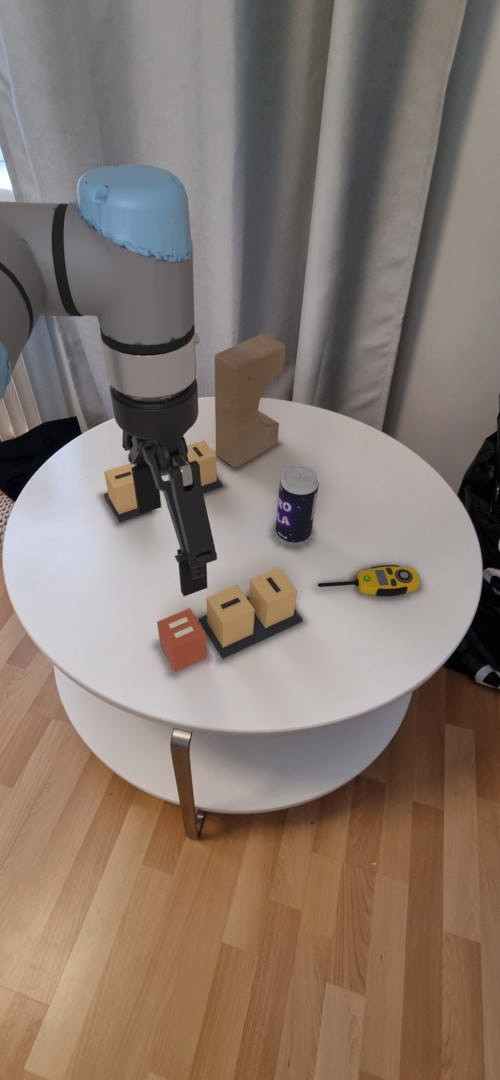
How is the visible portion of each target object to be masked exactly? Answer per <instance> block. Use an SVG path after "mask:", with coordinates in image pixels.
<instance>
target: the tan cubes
mask: <svg viewBox="0 0 500 1080" xmlns="http://www.w3.org/2000/svg"><path fill="white" fill-rule="evenodd" d="M187 447H188V454H187V457H188V460H189V462H191V461H194V460H196V461H197V462H198V464H199V465H200V475H201V486H202V491H203V495H204V494H207V493H209V492H212V491H215V490H218V489H221V488H223V486H224V485H223V483H222V482H221V481H220V479H219V478H218V476H217V475H218V473H217V472H218V470H217V463H218V462H217V455H216V452H214V451H213V450H212V448H211V447H210V446H209V444H208V443H207V442H206V441H205V440H202V441H198V442H195V443H192V444H187ZM132 467H134V464H133V465H131V463H130V462H129V463H127V464H124V465H121V466H118V467H115V468H111V469H108V470H105V471H103V473H104V478H105V479H104V480H105V483H106V484H105V485H106V489H107V492H106V493H105V492H104V493H103V497H104V499H105V500H106V503H107V505H108V506H109V507H110V509H111V511H112V513H113V514H114V516H115V518H116V520H117V522H118V523H123V522H126V521H128V520H131V519H134V518H137V517H140V516H143V515H146V514H149V513H152V512H153V510H151V511H148V512H145V513H142V514H140V513H139V511H138V508H137V502H136V495H135V489H134V482H133V476H132V469H131V468H132Z"/></svg>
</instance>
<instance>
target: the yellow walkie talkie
mask: <svg viewBox="0 0 500 1080" xmlns="http://www.w3.org/2000/svg"><path fill="white" fill-rule="evenodd" d="M420 583H421V581H420V576H419V574H418V573H417V570H416V569H414V568H412V567H409V566H400V565H397V564H395V565H394V564H384V565H376V566H372V567H369V568H366V569H364V570H360V571H358V573H357V575H356V578H355V579H354V580H347V581H345V580H344V581H332V582H331V581H330V582H319V583H318V584H317V587H318V588H327V587H328V588H329V587H342V586H355V587H357V589H358V591H359V592H360V593H362V594H366V595H370V596H371V595H373V596H375V597H397V596H402V595H406V594H407V593H411V592H414V591H416V590H417V589H418V588H419V586H420Z"/></svg>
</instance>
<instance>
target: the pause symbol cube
mask: <svg viewBox="0 0 500 1080" xmlns="http://www.w3.org/2000/svg"><path fill="white" fill-rule="evenodd" d="M156 625H157V631H158V638H159V639H158V640H159V646H160V648H161V649H162V652H163V654H164V656H165V657H166V659H167V661H168V663H169V664H170V667H171V668H172V670H173V671H174V673H176V672H178V671H180V670H183V669H185V668H187V667H189V666H191V665H194V664H195V663H198V662H200V661H203V660H205V659H206V658H207V635H206V634H207V633H206V631H205V630H204V628H203V626H202V625H201V623H200V621H199V620H198V619H197V618H196V615H195V614H194V612H193V611H192V609H191V607H189V608H188V607H187V608H185V610H181V611H179V612H176V613H174V614H172V615H170V616H167V617H165V618H162V619H160V620H157V621H156Z"/></svg>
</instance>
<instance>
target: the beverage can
mask: <svg viewBox="0 0 500 1080" xmlns="http://www.w3.org/2000/svg"><path fill="white" fill-rule="evenodd" d="M319 487H320V483H319V480H318V474H317V473H316V471H315V470H314V469H313V468H311V467H309V466H306V465H302V464H301V465H300V464H296V465H291V466H289V467H287V468H286V469H285V470H284V471H283V473H282V475H281V477H280V479H279V486H278V498H277V506H276V507H277V509H276V520H275V533H276V535H277V537H279V538H280V539H281V540H283V541H284V542H286V543H288V544H289V543H290V544H299V543H302V542H306V541H307V540H308V539H309V538H310V537H311V535H312V533H313V532H312V530H313V525H314V518H315V512H316V506H317V499H318V492H319Z"/></svg>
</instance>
